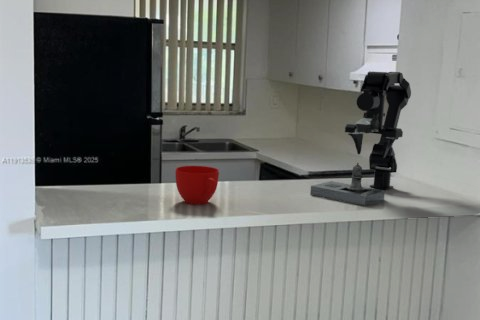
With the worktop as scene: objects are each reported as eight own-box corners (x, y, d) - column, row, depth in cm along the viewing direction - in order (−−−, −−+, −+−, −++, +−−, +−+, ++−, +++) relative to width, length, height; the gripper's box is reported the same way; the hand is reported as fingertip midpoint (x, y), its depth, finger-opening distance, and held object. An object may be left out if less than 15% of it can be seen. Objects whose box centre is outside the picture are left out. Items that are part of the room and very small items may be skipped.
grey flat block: (330, 189, 208) (331, 180, 207) (383, 199, 195) (384, 190, 195) (310, 194, 198) (310, 185, 197) (364, 205, 185) (365, 196, 185)
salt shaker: (358, 201, 191) (361, 164, 189) (342, 198, 194) (345, 162, 192) (367, 199, 195) (370, 162, 193) (351, 196, 199) (354, 160, 197)
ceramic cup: (193, 212, 168) (194, 177, 166) (167, 199, 182) (168, 166, 180) (232, 208, 175) (234, 174, 173) (204, 196, 189) (205, 164, 187)
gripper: (338, 108, 199) (334, 154, 201) (390, 112, 187) (385, 162, 190) (354, 107, 207) (351, 151, 210) (405, 111, 196) (401, 158, 198)
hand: (371, 156), depth 202 cm, fingers open, 9 cm apart
